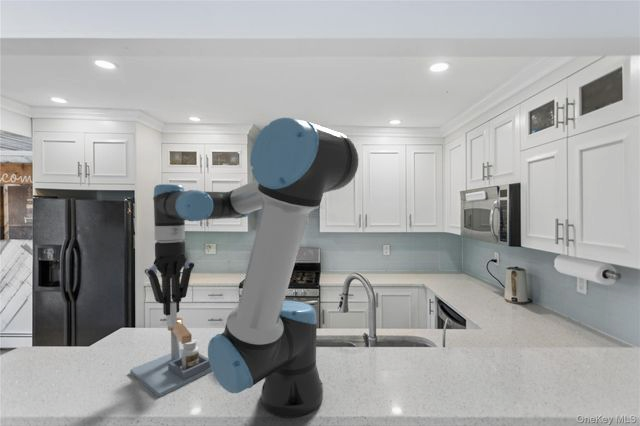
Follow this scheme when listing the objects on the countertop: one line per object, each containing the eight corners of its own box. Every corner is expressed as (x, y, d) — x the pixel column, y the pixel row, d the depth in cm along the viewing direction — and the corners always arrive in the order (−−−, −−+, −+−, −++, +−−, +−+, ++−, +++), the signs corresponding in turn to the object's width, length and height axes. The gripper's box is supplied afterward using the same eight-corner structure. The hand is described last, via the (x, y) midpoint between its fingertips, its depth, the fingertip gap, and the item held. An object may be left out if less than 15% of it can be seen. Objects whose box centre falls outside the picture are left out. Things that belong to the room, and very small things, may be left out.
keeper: (166, 327, 90) (166, 320, 90) (180, 324, 93) (180, 316, 92) (178, 345, 79) (178, 336, 79) (194, 340, 82) (194, 332, 82)
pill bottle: (188, 374, 82) (188, 346, 82) (178, 369, 85) (178, 342, 84) (202, 366, 86) (201, 340, 86) (192, 362, 88) (191, 336, 88)
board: (213, 370, 86) (213, 335, 86) (159, 397, 74) (158, 357, 74) (182, 351, 96) (181, 321, 96) (130, 372, 85) (129, 337, 84)
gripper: (151, 244, 76) (153, 337, 77) (199, 239, 86) (200, 321, 87) (138, 242, 81) (140, 329, 81) (185, 237, 91) (187, 315, 92)
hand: (171, 325), depth 84 cm, fingers closed
